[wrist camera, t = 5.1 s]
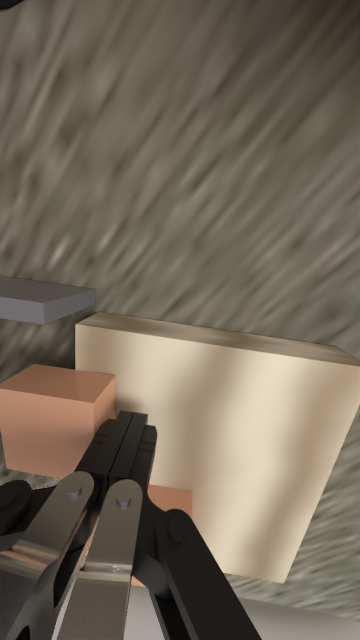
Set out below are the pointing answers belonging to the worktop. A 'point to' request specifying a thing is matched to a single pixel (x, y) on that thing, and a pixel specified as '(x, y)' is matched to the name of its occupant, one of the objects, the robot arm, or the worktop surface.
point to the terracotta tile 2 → (168, 504)
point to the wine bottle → (7, 3)
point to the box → (41, 300)
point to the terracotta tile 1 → (52, 417)
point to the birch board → (232, 426)
